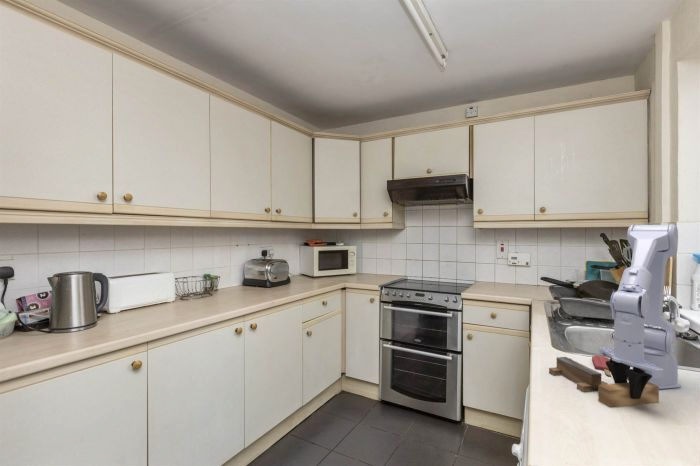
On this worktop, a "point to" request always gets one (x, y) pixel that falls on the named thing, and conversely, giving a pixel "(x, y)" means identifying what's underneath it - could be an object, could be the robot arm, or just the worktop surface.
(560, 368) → the ridge
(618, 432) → the worktop surface
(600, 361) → the popsicle
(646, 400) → the oak bar
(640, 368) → the robot arm
